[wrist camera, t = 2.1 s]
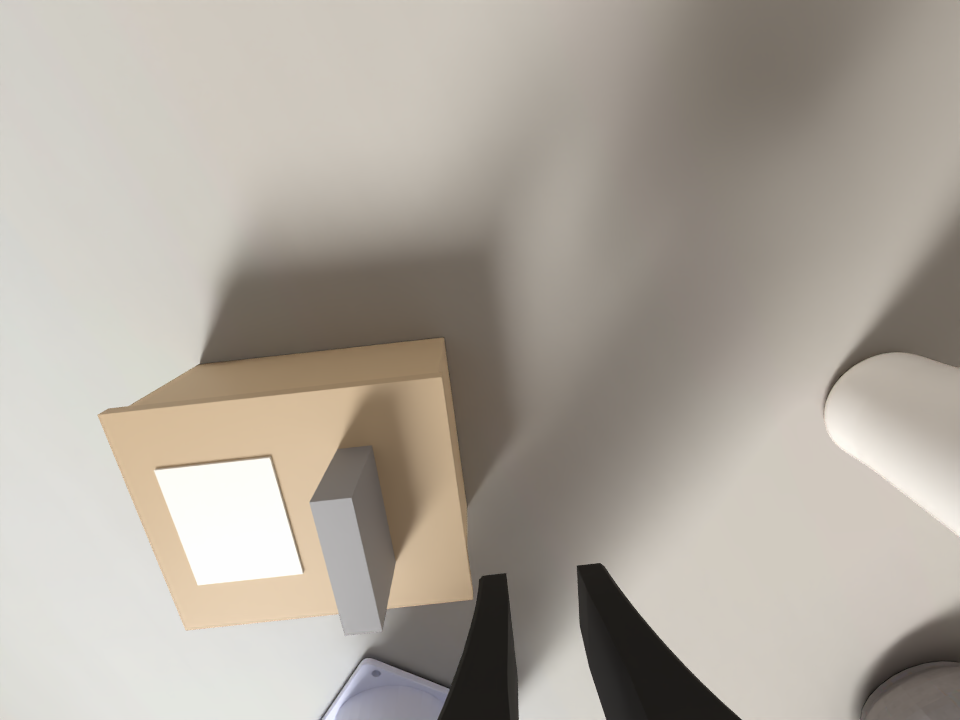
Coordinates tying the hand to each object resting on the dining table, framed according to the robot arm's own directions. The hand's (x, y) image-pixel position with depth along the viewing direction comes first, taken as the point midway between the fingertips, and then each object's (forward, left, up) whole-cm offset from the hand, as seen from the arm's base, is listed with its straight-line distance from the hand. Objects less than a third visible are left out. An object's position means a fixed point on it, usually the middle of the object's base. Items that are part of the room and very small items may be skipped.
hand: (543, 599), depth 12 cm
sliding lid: (+6, +5, -5) cm, 10 cm away
